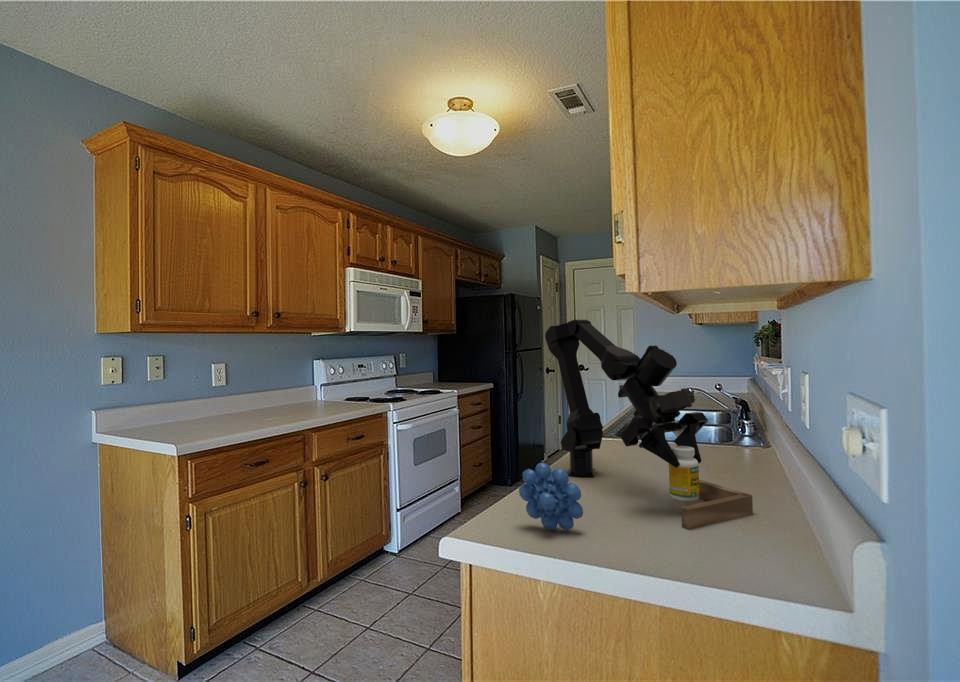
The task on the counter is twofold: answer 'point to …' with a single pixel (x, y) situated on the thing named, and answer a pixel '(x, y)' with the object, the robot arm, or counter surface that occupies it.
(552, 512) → the blue knobby flower
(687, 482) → the supplement bottle
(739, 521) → the counter surface
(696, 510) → the walnut corner walls
